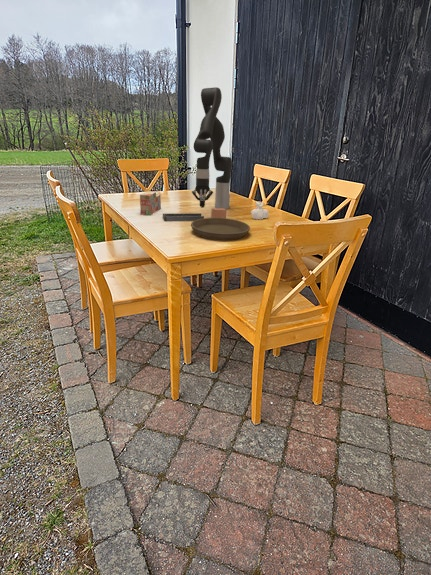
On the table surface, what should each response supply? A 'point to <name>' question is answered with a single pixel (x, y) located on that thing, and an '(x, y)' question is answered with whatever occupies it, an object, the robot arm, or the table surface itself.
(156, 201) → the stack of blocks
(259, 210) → the bust
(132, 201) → the table surface
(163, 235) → the table surface
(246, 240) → the table surface
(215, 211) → the block
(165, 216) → the rectangular frame
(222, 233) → the plant saucer
